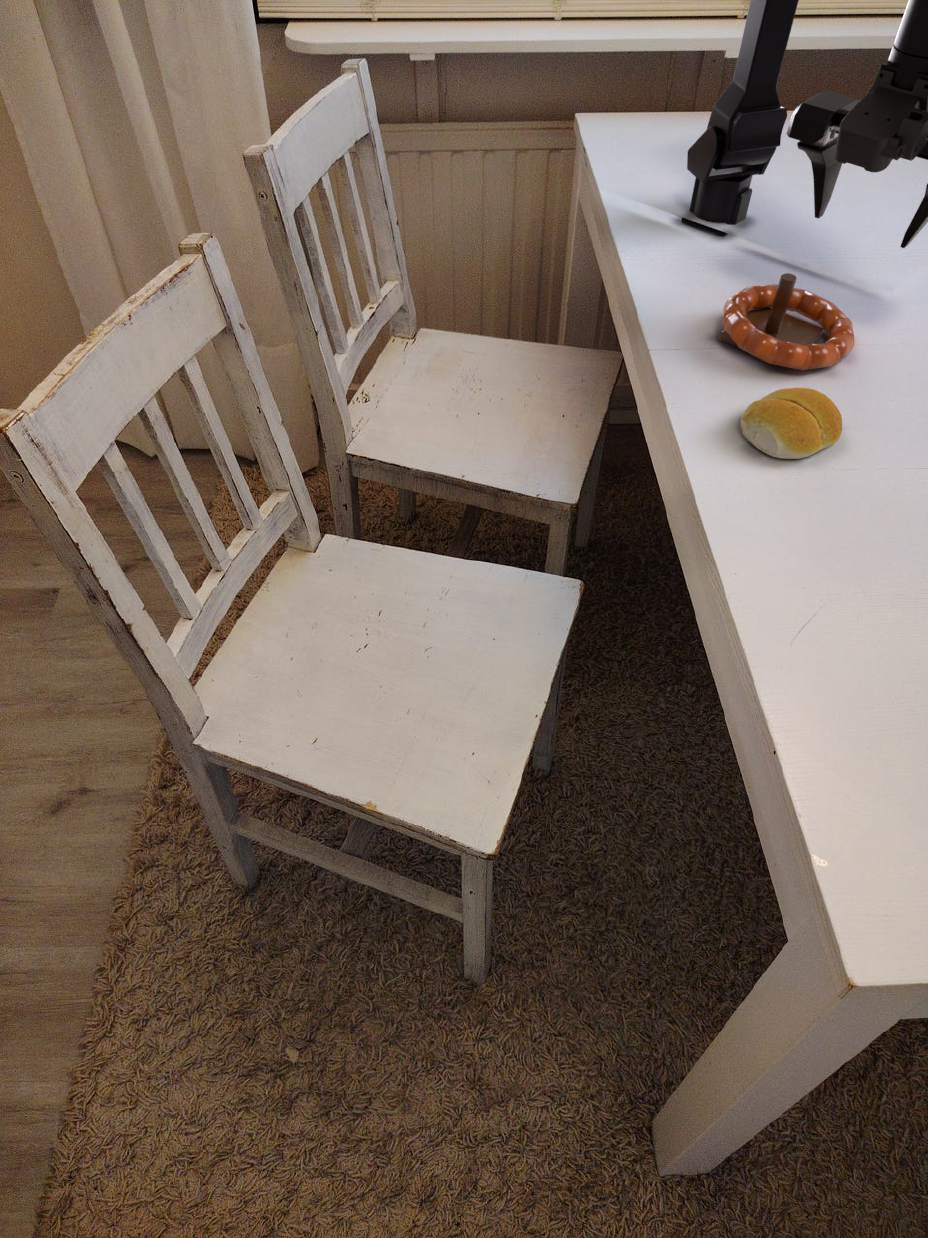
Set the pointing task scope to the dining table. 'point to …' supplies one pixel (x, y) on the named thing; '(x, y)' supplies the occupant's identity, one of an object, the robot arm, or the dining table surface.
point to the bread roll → (792, 423)
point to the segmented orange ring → (784, 351)
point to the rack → (781, 318)
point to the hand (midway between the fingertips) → (860, 231)
